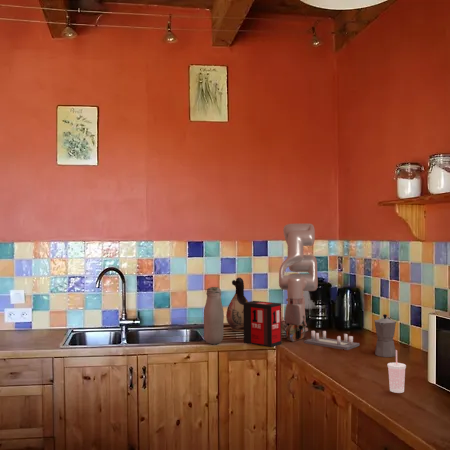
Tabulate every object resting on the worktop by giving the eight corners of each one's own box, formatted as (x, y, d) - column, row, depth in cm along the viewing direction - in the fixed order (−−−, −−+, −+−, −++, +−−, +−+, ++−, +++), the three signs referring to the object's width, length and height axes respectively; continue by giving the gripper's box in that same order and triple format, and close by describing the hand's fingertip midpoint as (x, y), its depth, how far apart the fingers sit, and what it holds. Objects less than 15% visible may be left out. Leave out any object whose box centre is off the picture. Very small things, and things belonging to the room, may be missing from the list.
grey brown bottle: (206, 346, 248) (206, 288, 248) (201, 342, 258) (201, 286, 258) (226, 345, 251) (225, 287, 251) (220, 340, 261) (220, 285, 261)
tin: (289, 342, 254) (290, 325, 254) (284, 341, 256) (285, 325, 256) (305, 337, 266) (306, 321, 266) (300, 336, 268) (300, 320, 268)
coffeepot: (393, 359, 220) (392, 317, 220) (371, 356, 225) (370, 315, 225) (400, 351, 234) (399, 312, 234) (379, 349, 238) (378, 310, 239)
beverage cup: (402, 387, 180) (401, 348, 180) (409, 393, 174) (408, 352, 174) (385, 388, 180) (384, 348, 180) (391, 393, 174) (390, 352, 174)
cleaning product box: (243, 342, 256) (243, 302, 256) (254, 339, 263) (254, 300, 263) (271, 347, 245) (270, 305, 245) (281, 344, 252) (281, 303, 252)
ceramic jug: (222, 328, 293) (222, 276, 294) (248, 327, 298) (247, 275, 298) (232, 334, 277) (231, 278, 277) (258, 332, 282) (258, 277, 282)
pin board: (304, 343, 254) (304, 332, 254) (317, 339, 263) (317, 328, 263) (347, 350, 238) (346, 338, 238) (359, 345, 247) (359, 334, 247)
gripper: (278, 301, 264) (278, 336, 264) (304, 303, 253) (305, 341, 253) (286, 299, 269) (286, 334, 269) (312, 302, 258) (313, 338, 258)
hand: (295, 337), depth 261 cm, fingers closed on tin, 2 cm apart
